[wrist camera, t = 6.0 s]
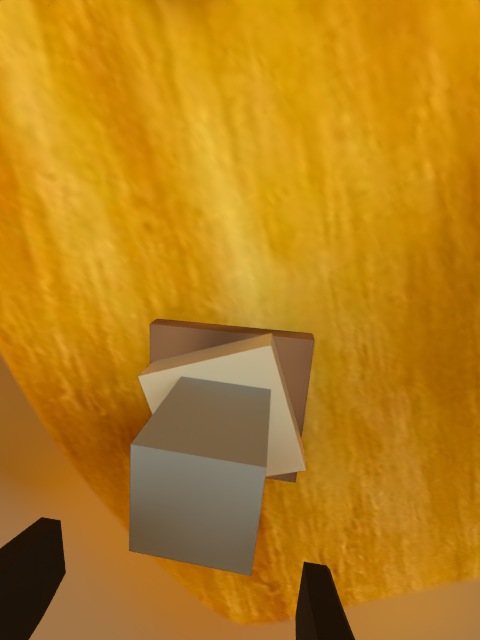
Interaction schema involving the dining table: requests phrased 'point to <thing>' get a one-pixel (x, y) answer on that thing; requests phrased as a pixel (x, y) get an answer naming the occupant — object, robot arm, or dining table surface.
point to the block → (201, 475)
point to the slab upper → (243, 369)
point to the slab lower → (193, 336)
